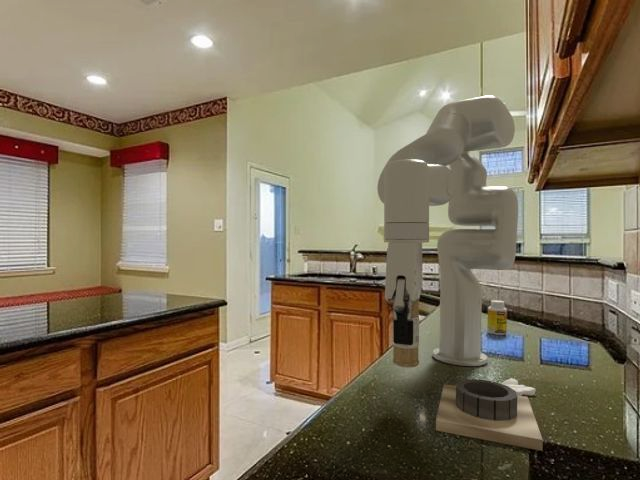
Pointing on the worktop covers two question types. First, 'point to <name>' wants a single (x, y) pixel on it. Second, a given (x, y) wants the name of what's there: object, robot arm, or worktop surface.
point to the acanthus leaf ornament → (519, 387)
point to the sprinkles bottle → (408, 353)
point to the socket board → (488, 414)
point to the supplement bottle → (497, 318)
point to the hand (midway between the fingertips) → (405, 338)
